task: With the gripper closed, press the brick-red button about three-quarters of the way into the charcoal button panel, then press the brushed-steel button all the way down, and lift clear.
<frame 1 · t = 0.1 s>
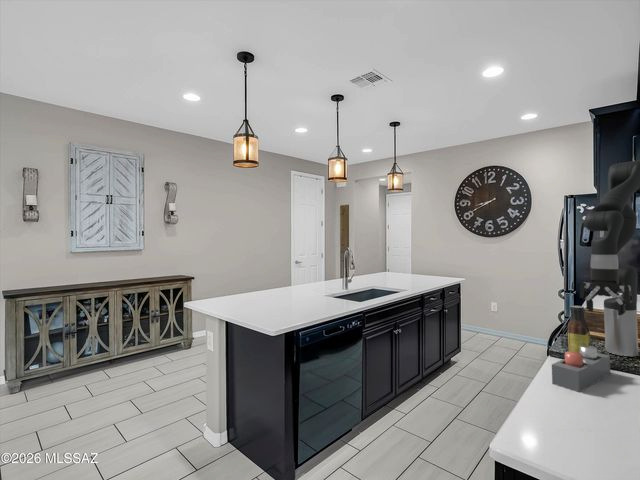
hand: (605, 313, 118), 17 cm above the counter, tool pointing down, fingers open, 8 cm apart
button panel: (582, 378, 106), on the counter
steel button: (588, 355, 108), point 6 cm above the counter, slide at 0.0 cm
sauce bottle: (579, 362, 119), on the counter
red button: (573, 361, 103), point 6 cm above the counter, slide at 0.0 cm
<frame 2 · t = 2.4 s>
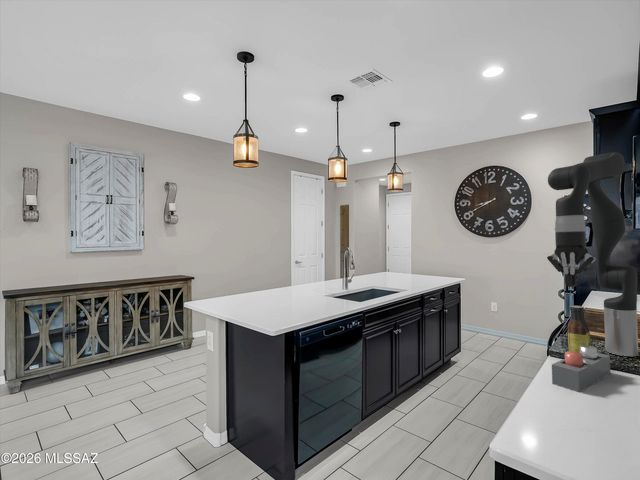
hand: (571, 286, 103), 30 cm above the counter, tool pointing down, fingers closed
nothing on the counter moved.
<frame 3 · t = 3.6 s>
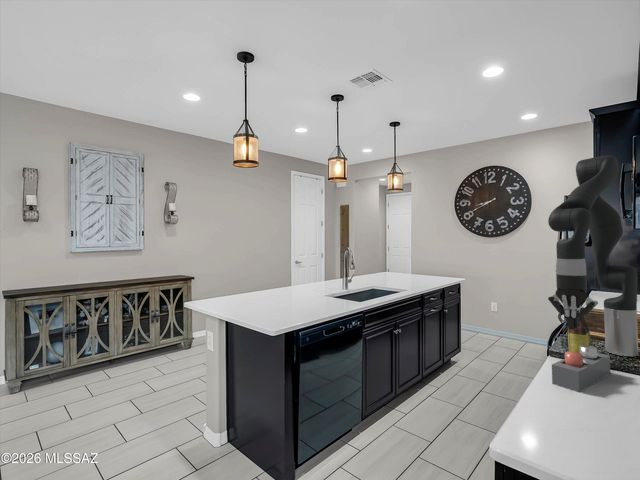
hand: (572, 329, 103), 17 cm above the counter, tool pointing down, fingers closed
nothing on the counter moved.
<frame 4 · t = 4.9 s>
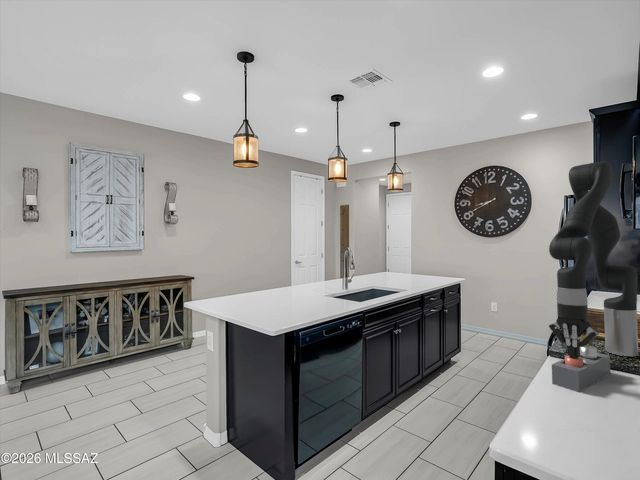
hand: (573, 357, 103), 8 cm above the counter, tool pointing down, fingers closed
red button: (574, 365, 103), point 5 cm above the counter, slide at 1.3 cm, touching gripper
everything else where it was.
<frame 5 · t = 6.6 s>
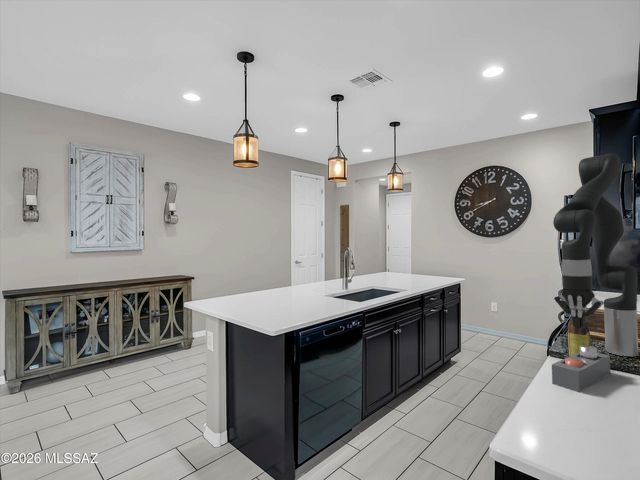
hand: (579, 328, 105), 16 cm above the counter, tool pointing down, fingers closed
red button: (574, 368, 103), point 4 cm above the counter, slide at 2.2 cm
everything else where it was.
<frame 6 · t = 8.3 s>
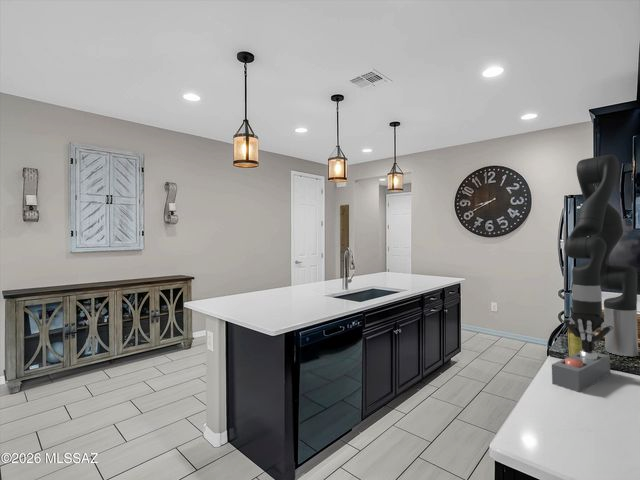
hand: (588, 351, 108), 8 cm above the counter, tool pointing down, fingers closed
steel button: (588, 359, 108), point 5 cm above the counter, slide at 1.4 cm, touching gripper
everything else where it was.
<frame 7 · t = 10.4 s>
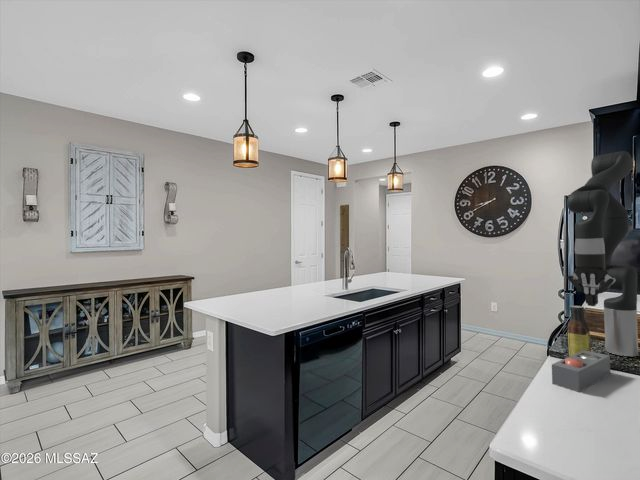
hand: (591, 305, 108), 23 cm above the counter, tool pointing down, fingers closed
steel button: (588, 364, 108), point 3 cm above the counter, slide at 3.0 cm
everything else where it was.
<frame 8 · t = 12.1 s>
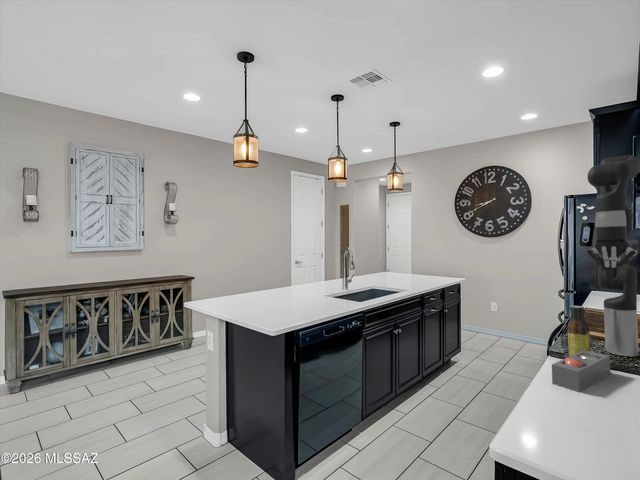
hand: (612, 278, 108), 31 cm above the counter, tool pointing down, fingers closed
nothing on the counter moved.
at the end: red button slide at 2.2 cm; steel button slide at 3.0 cm; sauce bottle moved 0.2 cm from its start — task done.
